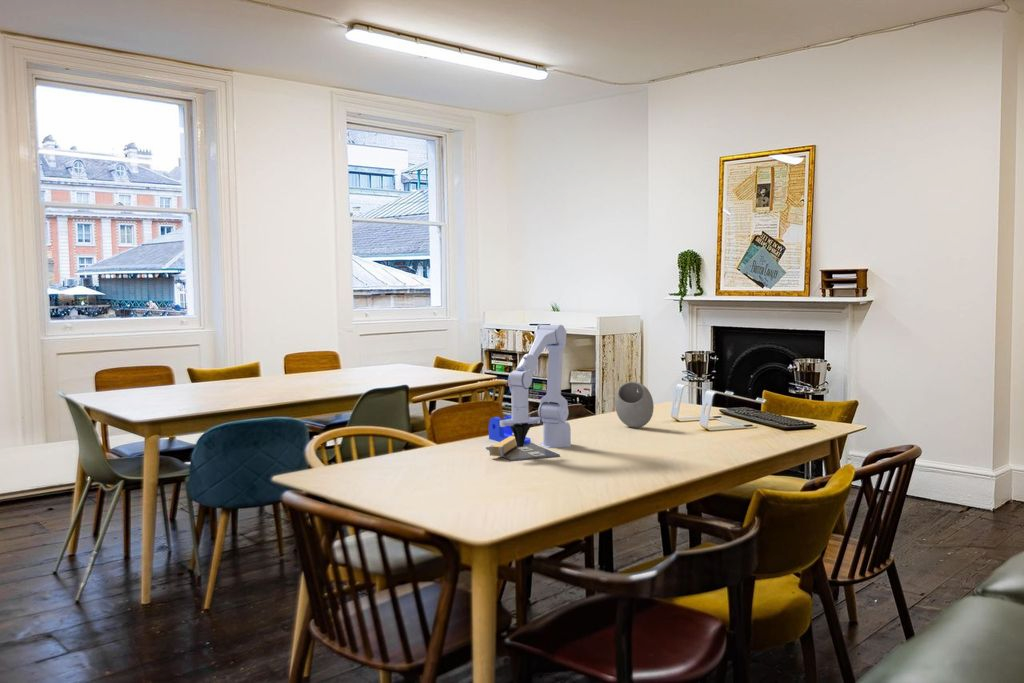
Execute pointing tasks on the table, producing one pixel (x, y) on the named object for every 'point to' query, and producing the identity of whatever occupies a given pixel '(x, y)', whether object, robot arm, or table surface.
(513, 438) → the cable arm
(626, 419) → the planter
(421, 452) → the table surface
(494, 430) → the bracket
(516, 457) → the panel
